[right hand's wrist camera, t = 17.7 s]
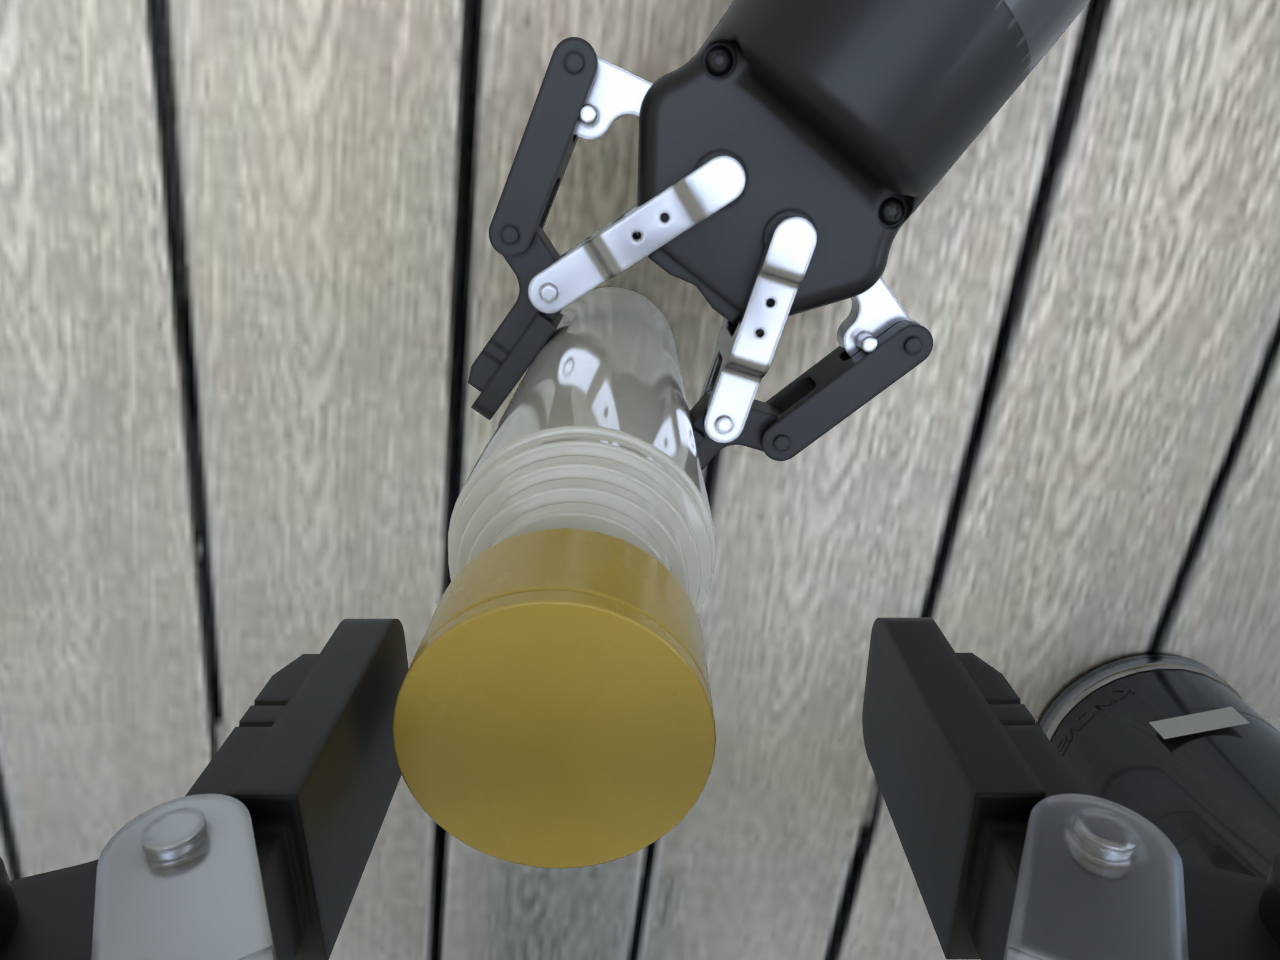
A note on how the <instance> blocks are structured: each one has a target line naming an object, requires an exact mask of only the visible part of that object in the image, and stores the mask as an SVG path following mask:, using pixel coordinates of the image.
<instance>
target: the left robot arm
mask: <svg viewBox="0 0 1280 960" xmlns="http://www.w3.org/2000/svg"><path fill="white" fill-rule="evenodd" d="M1089 1H1090V0H734V2H733V3H732V4H731V6H730V7H729V9H728V10H727V12H726V13H725V14H724V16H723V17H722V19H721V20H720V22H719V23H718V24H717V26H716V27H715V29H714V30H713V31H712V33H711V34H710V36H709V37H708V39H707V40H706V41H705V43H704V44H703V46H702V47H701V48H700V50H699V51H698V52H697V54H696V55H695V56H694V57H693V58H692V59H691V60H690V61H689V62H688V63H686V64H685V65H684V66H682V67H680V68H679V69H677V70H675V71H673V72H671V73H669V74H666V75H664V76H662V77H661V78H659V79H658V80H657V81H656V82H655V83H654V84H653V83H651V82H649V81H647V80H645V79H642V78H640V77H638V76H636V75H634V74H632V73H630V72H628V71H626V70H624V69H622V68H620V67H618V66H616V65H614V64H612V63H610V62H608V61H606V60H604V59H602V58H600V57H598V56H597V55H596V53H595V51H594V49H593V48H592V46H591V45H590V44H589V43H588V42H587V41H585V40H583V39H581V38H577V37H570V38H567V39H565V40H563V41H561V42H560V43H559V44H558V45H557V47H556V48H555V50H554V52H553V55H552V57H551V60H550V63H549V66H548V68H547V71H546V74H545V77H544V79H543V82H542V85H541V88H540V90H539V93H538V96H537V99H536V101H535V104H534V107H533V110H532V112H531V115H530V118H529V121H528V123H527V126H526V129H525V132H524V134H523V137H522V140H521V143H520V145H519V148H518V151H517V154H516V156H515V159H514V162H513V164H512V167H511V170H510V173H509V175H508V178H507V181H506V184H505V186H504V189H503V192H502V195H501V197H500V200H499V203H498V206H497V208H496V211H495V214H494V217H493V219H492V222H491V225H490V228H489V238H490V242H491V244H492V246H493V247H494V249H495V250H496V251H498V252H499V253H500V254H502V255H503V256H504V258H505V259H506V261H507V262H508V264H509V265H510V267H511V268H512V270H513V271H514V273H515V274H516V276H517V278H518V281H519V287H520V291H519V297H518V300H517V302H516V303H515V305H514V306H513V308H512V309H511V311H510V312H509V314H508V315H507V316H506V318H505V319H504V321H503V322H502V323H501V325H500V326H499V328H498V329H497V331H496V332H495V333H494V335H493V336H492V338H491V339H490V341H489V342H488V343H487V345H486V346H485V348H484V349H483V351H482V352H481V353H480V355H479V356H478V358H477V359H476V360H475V362H474V363H473V365H472V366H471V371H470V376H469V381H468V383H469V384H471V385H472V386H473V387H475V388H476V389H478V390H479V391H481V394H480V395H479V397H478V398H477V400H476V401H475V402H474V404H473V405H472V407H471V408H473V409H474V410H476V411H477V412H479V413H480V414H481V415H483V416H484V417H486V418H487V419H489V420H490V419H491V418H492V417H493V415H494V414H495V413H496V411H497V410H498V408H499V407H500V406H501V404H502V403H503V402H504V400H505V399H506V397H507V396H508V395H509V393H510V392H511V391H512V389H513V388H514V386H515V385H516V384H517V382H518V381H519V380H520V378H521V377H522V375H523V374H524V373H525V371H526V370H527V369H528V367H529V366H530V364H531V363H532V362H533V360H534V359H535V357H536V356H537V354H538V353H539V351H540V350H541V349H542V348H543V347H544V345H545V344H546V342H547V341H548V340H549V338H550V337H551V336H552V334H553V333H554V332H555V330H556V329H557V327H558V325H559V323H560V321H561V319H562V317H563V316H564V315H562V314H561V313H560V312H561V311H562V309H563V308H565V307H566V306H568V305H570V304H571V303H573V302H574V301H576V300H577V299H579V298H580V297H582V296H583V295H585V294H586V293H588V292H589V291H591V290H593V289H594V288H596V287H597V286H599V285H600V284H602V283H603V282H605V281H606V280H608V279H610V278H612V277H614V276H616V275H618V274H620V273H621V272H623V271H624V270H626V269H628V268H629V267H631V266H632V265H634V264H635V263H637V262H638V261H640V260H641V259H643V258H644V257H646V256H648V255H649V258H650V259H651V260H652V261H654V262H655V263H656V264H657V265H659V266H660V267H661V268H662V269H664V270H665V271H666V272H668V273H669V274H670V275H673V276H675V277H677V278H680V279H682V280H685V281H687V282H689V283H692V284H694V285H695V286H697V288H698V289H699V290H700V292H701V293H702V294H703V296H704V297H705V298H706V300H707V301H708V303H709V304H710V305H711V307H712V308H713V309H715V310H716V311H717V312H718V313H720V314H721V315H722V316H723V317H725V319H724V322H723V325H722V328H721V331H720V334H719V337H718V341H717V348H716V352H715V356H714V358H713V361H712V364H711V367H710V370H709V373H708V376H707V379H706V382H705V385H704V388H703V391H702V394H701V397H700V400H699V401H698V402H697V403H696V405H695V406H694V407H693V408H692V410H691V411H690V410H689V413H690V417H691V422H692V427H693V431H694V436H695V441H696V446H697V450H698V455H699V460H700V464H701V469H702V470H703V469H704V468H705V466H706V465H707V464H708V463H709V462H710V460H711V459H712V458H713V457H714V456H715V454H716V453H717V452H718V451H719V450H721V449H722V448H724V447H726V446H729V445H736V444H737V445H744V446H747V447H751V448H754V449H757V450H761V451H764V452H765V454H766V455H767V456H768V457H769V458H771V459H773V460H776V461H785V460H788V459H790V458H792V457H794V456H795V455H796V454H798V453H799V452H800V451H802V450H803V449H804V448H806V447H807V446H808V445H810V444H811V443H813V442H814V441H815V440H817V439H818V438H819V437H821V436H822V435H823V434H825V433H826V432H827V431H829V430H830V429H832V428H833V427H834V426H836V425H837V424H838V423H840V422H841V421H842V420H844V419H845V418H846V417H848V416H849V415H851V414H852V413H853V412H855V411H856V410H857V409H859V408H860V407H861V406H863V405H864V404H865V403H867V402H868V401H870V400H871V399H872V398H874V397H875V396H876V395H878V394H879V393H880V392H882V391H883V390H885V389H886V388H887V387H889V386H890V385H891V384H893V383H894V382H895V381H897V380H898V379H899V378H901V377H902V376H904V375H905V374H906V373H908V372H909V371H910V370H912V369H913V368H914V367H916V366H917V365H918V364H920V363H921V362H923V361H924V360H925V359H926V358H927V357H928V356H929V354H930V353H931V350H932V347H933V338H932V335H931V333H930V332H929V331H928V330H927V329H926V328H925V327H923V326H921V325H920V324H919V323H918V322H916V321H914V320H912V319H911V318H910V317H909V316H908V315H907V313H906V312H905V310H904V309H903V307H902V306H901V305H900V303H899V302H898V300H897V299H896V297H895V296H894V295H893V293H892V292H891V290H890V289H889V287H888V286H887V285H886V283H885V282H884V280H883V279H882V277H881V275H882V274H883V272H884V269H885V267H886V263H887V258H888V254H889V250H890V247H891V244H892V242H893V240H894V237H895V236H896V234H897V232H898V230H899V229H900V227H901V226H902V225H903V224H904V222H905V221H906V220H907V219H908V218H909V217H910V216H911V214H912V213H913V212H914V211H915V210H916V209H917V207H918V206H919V205H920V204H921V203H922V202H923V200H924V199H925V198H926V197H927V196H928V194H929V193H930V192H931V191H932V190H933V188H934V187H935V186H936V185H937V184H938V182H939V181H940V180H941V179H942V178H943V176H944V175H945V174H946V173H947V172H948V170H949V169H950V168H951V167H952V166H953V164H954V163H955V162H956V161H957V160H958V158H959V157H960V156H961V155H962V154H963V152H964V151H965V150H966V149H967V148H968V146H969V145H970V144H971V143H972V142H973V140H974V139H975V138H976V137H977V136H978V134H979V133H980V132H981V131H982V130H983V128H984V127H985V126H986V125H987V124H988V122H989V121H990V120H991V119H992V118H993V116H994V115H995V114H996V113H997V112H998V110H999V109H1000V108H1001V107H1002V106H1003V104H1004V103H1005V102H1006V101H1007V100H1008V98H1009V97H1010V96H1011V95H1012V94H1013V92H1014V91H1015V90H1016V89H1017V88H1018V86H1019V85H1020V84H1021V83H1022V82H1023V81H1024V79H1025V78H1026V77H1027V75H1028V74H1029V73H1030V72H1031V71H1032V70H1033V68H1034V67H1035V66H1036V65H1037V64H1038V63H1039V61H1040V60H1041V59H1042V58H1043V57H1044V55H1045V54H1046V53H1047V52H1048V51H1049V49H1050V48H1051V47H1052V46H1053V45H1054V44H1055V42H1056V41H1057V40H1058V39H1059V37H1060V36H1061V35H1062V34H1063V33H1064V31H1065V30H1066V29H1067V28H1068V27H1069V25H1070V24H1071V23H1072V22H1073V20H1074V19H1075V18H1076V17H1077V16H1078V14H1079V13H1080V12H1081V11H1082V10H1083V8H1084V7H1085V6H1086V5H1087V4H1088V2H1089ZM624 116H635V117H638V118H639V150H638V195H637V204H636V205H635V206H633V207H632V208H630V209H629V210H627V211H626V212H624V213H623V214H621V215H620V216H618V217H617V218H615V219H614V220H612V221H611V222H609V223H608V224H606V225H605V226H603V227H602V228H600V229H599V230H598V231H596V232H595V233H593V234H592V235H591V236H589V237H588V238H586V239H585V240H583V241H582V242H580V243H579V244H577V245H576V246H574V247H573V248H571V249H570V250H568V251H567V252H565V253H564V254H562V255H561V256H560V255H559V254H558V252H557V251H556V249H555V248H554V246H553V245H552V243H551V242H550V240H549V239H548V237H547V236H546V234H545V233H544V231H543V227H544V225H545V222H546V219H547V217H548V214H549V212H550V209H551V206H552V204H553V201H554V199H555V196H556V193H557V191H558V188H559V186H560V183H561V181H562V178H563V175H564V173H565V170H566V168H567V165H568V162H569V160H570V157H571V155H572V152H573V149H574V147H575V144H576V142H577V139H578V136H579V137H581V138H583V139H586V140H597V139H600V138H602V137H603V136H604V135H606V133H607V132H608V131H609V129H610V127H611V126H612V124H613V123H614V122H615V121H616V120H617V119H619V118H621V117H624ZM635 231H638V232H635ZM848 298H851V299H852V309H851V312H850V314H849V316H848V317H847V318H846V319H845V320H844V321H843V322H842V324H841V325H840V327H839V329H838V332H837V340H838V343H839V345H840V346H839V347H838V348H836V349H835V350H834V351H832V352H831V353H830V354H828V355H827V356H826V357H824V358H823V359H822V360H821V361H819V362H818V363H817V364H815V365H814V366H813V367H811V368H810V369H809V370H807V371H806V372H805V373H803V374H802V375H801V376H799V377H798V378H797V379H796V380H794V381H793V382H792V383H790V384H789V385H788V386H786V387H785V388H784V389H782V390H781V391H780V392H778V393H777V394H776V395H775V396H773V397H772V398H771V399H769V400H768V401H767V402H765V403H764V402H761V401H758V400H754V397H755V395H756V392H757V389H758V386H759V384H760V381H761V379H762V378H763V377H764V376H765V374H766V373H767V371H768V369H769V366H770V364H771V361H772V358H773V356H774V353H775V350H776V347H777V345H778V342H779V339H780V336H781V334H782V331H783V328H784V325H785V323H786V320H787V317H788V316H791V315H794V314H797V313H801V312H804V311H807V310H811V309H814V308H818V307H821V306H824V305H828V304H831V303H834V302H838V301H841V300H844V299H848ZM1039 726H1040V728H1041V729H1042V731H1043V732H1044V733H1045V735H1046V736H1047V737H1048V739H1049V740H1050V742H1051V743H1052V744H1053V746H1054V747H1055V749H1056V750H1057V751H1058V753H1059V754H1060V756H1061V757H1062V758H1063V760H1064V761H1065V763H1066V764H1067V765H1068V767H1069V768H1070V770H1071V771H1072V772H1073V774H1074V775H1075V777H1076V778H1077V779H1078V781H1079V782H1080V784H1081V785H1082V786H1083V788H1084V789H1085V791H1086V792H1087V793H1088V795H1090V796H1095V797H1099V798H1102V799H1106V800H1109V801H1112V802H1114V803H1117V804H1120V805H1122V806H1124V807H1126V808H1128V809H1131V810H1132V811H1134V812H1136V813H1138V814H1139V815H1141V816H1143V817H1144V818H1146V819H1147V820H1148V821H1150V822H1151V823H1153V824H1154V825H1155V826H1156V827H1157V828H1159V829H1160V830H1161V831H1162V832H1163V833H1164V834H1165V835H1166V836H1167V837H1168V838H1169V839H1170V840H1171V842H1172V843H1173V845H1174V846H1175V848H1176V849H1177V851H1178V853H1179V855H1180V857H1181V859H1183V860H1186V861H1190V862H1193V863H1198V864H1202V865H1206V866H1211V867H1215V868H1219V869H1224V870H1228V871H1232V872H1236V873H1241V874H1245V875H1249V876H1254V877H1258V878H1262V879H1267V877H1268V874H1269V871H1270V868H1271V865H1272V862H1273V859H1274V857H1275V856H1276V854H1277V853H1278V852H1279V851H1280V733H1279V732H1278V731H1277V730H1276V729H1275V728H1274V727H1273V726H1272V725H1271V724H1269V723H1268V722H1267V721H1266V720H1265V719H1264V718H1262V717H1261V716H1260V715H1259V714H1258V713H1257V712H1256V711H1254V710H1253V709H1252V708H1251V707H1250V706H1249V705H1248V704H1246V703H1245V702H1244V701H1243V700H1242V698H1241V697H1240V696H1239V694H1238V693H1237V692H1236V691H1235V690H1234V689H1233V688H1232V687H1231V686H1230V685H1228V684H1227V683H1226V682H1225V681H1224V680H1223V679H1222V678H1220V677H1219V676H1218V675H1217V674H1216V673H1215V672H1213V671H1212V670H1210V669H1209V668H1208V667H1206V666H1204V665H1202V664H1200V663H1198V662H1195V661H1193V660H1190V659H1187V658H1183V657H1179V656H1174V655H1164V654H1149V655H1139V656H1133V657H1128V658H1124V659H1120V660H1117V661H1114V662H1111V663H1108V664H1106V665H1103V666H1101V667H1099V668H1097V669H1095V670H1093V671H1091V672H1089V673H1087V674H1086V675H1084V676H1082V677H1081V678H1079V679H1078V680H1077V681H1075V682H1074V683H1072V684H1071V685H1070V686H1069V687H1068V688H1066V689H1065V690H1064V691H1063V692H1062V693H1061V694H1060V695H1059V696H1058V697H1057V698H1056V699H1055V701H1054V702H1053V703H1052V704H1051V706H1050V707H1049V708H1048V710H1047V711H1046V713H1045V714H1044V716H1043V718H1042V720H1041V722H1040V724H1039Z"/></svg>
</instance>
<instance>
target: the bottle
mask: <svg viewBox="0 0 1280 960" xmlns="http://www.w3.org/2000/svg"><path fill="white" fill-rule="evenodd" d="M560 313H561V314H562V315H564V316H563V317H562V319H561V321H560V323H559V325H558V327H557V329H556V330H555V332H554V333H553V334H552V336H551V337H550V338H549V340H548V341H547V342H546V344H545V345H544V347H543V348H542V349H541V350H540V351H539V353H538V354H537V356H536V357H535V359H534V360H533V362H532V363H531V365H530V367H529V369H528V371H527V373H526V374H525V376H524V378H523V380H522V382H521V383H520V385H519V387H518V389H517V391H516V393H515V394H514V396H513V398H512V400H511V402H510V403H509V405H508V407H507V409H506V411H505V412H504V414H503V416H502V418H501V420H500V422H499V423H498V425H497V427H496V429H495V431H494V432H493V434H492V436H491V438H490V440H489V442H488V443H487V445H486V447H485V449H484V451H483V452H482V454H481V456H480V458H479V460H478V462H477V463H476V465H475V467H474V469H473V471H472V472H471V474H470V476H469V478H468V480H467V482H466V483H465V485H464V487H463V489H462V491H461V493H460V495H459V497H458V499H457V501H456V504H455V507H454V510H453V513H452V516H451V520H450V526H449V533H448V554H449V557H448V563H449V571H450V578H451V581H452V580H453V579H454V578H455V577H456V575H457V574H458V573H459V572H460V571H461V569H462V568H464V567H465V566H466V565H467V564H468V563H469V562H470V561H471V560H473V559H474V558H475V557H476V556H478V555H479V554H481V553H482V552H484V551H485V550H487V549H488V548H490V547H492V546H494V545H496V544H498V543H500V542H502V541H504V540H506V539H508V538H511V537H514V536H518V535H521V534H525V533H529V532H534V531H539V530H547V529H559V528H567V529H568V528H573V529H581V530H588V531H594V532H599V533H602V534H606V535H610V536H613V537H616V538H618V539H623V540H624V541H627V542H629V543H630V544H633V545H634V546H636V547H638V548H639V549H641V550H643V551H645V552H646V553H648V554H650V555H651V556H652V557H653V558H655V559H656V560H657V561H659V562H660V563H661V564H663V565H664V566H665V567H666V568H667V569H668V570H669V571H670V572H671V573H672V574H673V575H674V576H675V577H676V579H677V580H678V581H679V583H680V584H681V585H682V587H683V588H684V589H685V591H686V592H687V594H688V596H689V598H690V599H691V601H692V603H693V605H694V607H695V610H696V613H697V615H698V614H699V612H700V610H701V608H702V606H703V603H704V601H705V599H706V595H707V592H708V589H709V587H710V583H711V580H712V576H713V573H714V566H715V559H716V540H715V533H714V526H713V521H712V516H711V512H710V507H709V502H708V497H707V493H706V488H705V483H704V479H703V474H702V469H701V464H700V460H699V455H698V450H697V446H696V441H695V436H694V431H693V427H692V422H691V417H690V413H689V408H688V403H687V398H686V394H685V389H684V384H683V379H682V375H681V370H680V365H679V361H678V356H677V351H676V346H675V342H674V337H673V334H672V330H671V327H670V325H669V323H668V321H667V319H666V318H665V316H664V314H663V313H662V312H661V310H660V309H659V308H658V307H657V306H656V305H655V304H654V303H653V302H652V301H650V300H649V299H648V298H646V297H645V296H643V295H641V294H639V293H637V292H635V291H632V290H629V289H625V288H619V287H602V288H597V289H593V290H591V291H589V292H588V293H586V294H585V295H583V296H582V297H580V298H579V299H577V300H576V301H574V302H573V303H571V304H570V305H568V306H566V307H565V308H563V310H562V311H561V312H560Z"/></svg>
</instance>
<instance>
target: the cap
mask: <svg viewBox="0 0 1280 960" xmlns="http://www.w3.org/2000/svg"><path fill="white" fill-rule="evenodd" d="M392 730H393V743H394V749H395V754H396V758H397V762H398V766H399V768H400V771H401V773H402V776H403V778H404V781H405V782H406V784H407V786H408V788H409V789H410V791H411V793H412V795H413V796H414V798H415V799H416V800H417V802H418V803H419V804H420V805H421V807H422V808H423V809H424V811H425V812H426V813H427V814H428V815H429V816H430V817H431V818H432V819H433V820H434V821H435V822H436V823H437V824H438V825H440V826H441V827H442V828H443V829H445V830H446V831H447V832H449V833H450V834H451V835H452V836H454V837H456V838H457V839H459V840H460V841H462V842H464V843H465V844H467V845H469V846H471V847H473V848H475V849H477V850H479V851H481V852H483V853H485V854H488V855H491V856H494V857H496V858H499V859H502V860H505V861H509V862H514V863H518V864H522V865H528V866H535V867H543V868H573V867H585V866H590V865H596V864H602V863H605V862H609V861H612V860H616V859H619V858H622V857H625V856H627V855H630V854H632V853H634V852H637V851H639V850H641V849H643V848H644V847H646V846H648V845H650V844H652V843H654V842H655V841H657V840H658V839H659V838H661V837H662V836H663V835H665V834H666V833H668V832H669V831H670V830H671V829H672V828H673V827H674V826H676V825H677V824H678V823H679V822H680V821H681V820H682V819H683V818H684V817H685V815H686V814H687V813H688V812H689V811H690V809H691V808H692V807H693V806H694V804H695V802H696V801H697V799H698V798H699V796H700V794H701V793H702V791H703V789H704V787H705V784H706V782H707V780H708V777H709V775H710V772H711V768H712V764H713V760H714V755H715V744H716V733H715V720H714V713H713V708H712V699H711V691H710V684H709V677H708V670H707V663H706V655H705V648H704V641H703V634H702V630H701V625H700V621H699V618H698V615H697V613H696V610H695V607H694V605H693V603H692V601H691V599H690V598H689V596H688V594H687V592H686V591H685V589H684V588H683V587H682V585H681V584H680V583H679V581H678V580H677V579H676V577H675V576H674V575H673V574H672V573H671V572H670V571H669V570H668V569H667V568H666V567H665V566H664V565H663V564H661V563H660V562H659V561H657V560H656V559H655V558H653V557H652V556H651V555H650V554H648V553H646V552H645V551H643V550H641V549H639V548H638V547H636V546H634V545H633V544H630V543H629V542H627V541H624V540H623V539H618V538H616V537H613V536H610V535H606V534H602V533H599V532H594V531H588V530H581V529H573V528H568V529H567V528H559V529H547V530H539V531H534V532H529V533H525V534H521V535H518V536H514V537H511V538H508V539H506V540H504V541H502V542H500V543H498V544H496V545H494V546H492V547H490V548H488V549H487V550H485V551H484V552H482V553H481V554H479V555H478V556H476V557H475V558H474V559H473V560H471V561H470V562H469V563H468V564H467V565H466V566H465V567H464V568H462V569H461V571H460V572H459V573H458V574H457V575H456V577H455V578H454V579H453V580H452V581H451V583H450V584H449V586H448V588H447V589H446V591H445V593H444V594H443V596H442V598H441V600H440V602H439V605H438V607H437V609H436V611H435V613H434V615H433V618H432V620H431V622H430V624H429V626H428V629H427V631H426V633H425V635H424V637H423V639H422V642H421V644H420V646H419V648H418V650H417V653H416V655H415V657H414V659H413V661H412V664H411V666H410V668H409V670H408V672H407V674H406V676H405V679H404V681H403V683H402V686H401V688H400V690H399V693H398V696H397V700H396V704H395V708H394V715H393V727H392Z"/></svg>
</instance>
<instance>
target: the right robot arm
mask: <svg viewBox="0 0 1280 960" xmlns="http://www.w3.org/2000/svg"><path fill="white" fill-rule="evenodd" d="M407 672H408V662H407V653H406V644H405V636H404V630H403V626H402V624H401V622H400V620H399V619H344V620H343V621H342V622H341V623H340V624H339V626H338V627H337V629H336V630H335V632H334V633H333V635H332V636H331V638H330V639H329V641H328V642H327V644H326V645H325V647H324V648H323V650H322V651H321V653H320V654H303V655H301V656H300V657H299V658H297V659H296V660H294V661H293V662H291V663H290V664H289V665H287V666H286V667H284V668H283V669H281V670H280V671H279V672H277V673H276V674H274V675H273V676H272V677H271V679H270V680H269V681H268V683H267V684H266V686H265V687H264V688H263V690H262V691H261V692H260V694H259V695H258V697H257V698H256V699H255V704H254V706H250V708H249V709H248V710H247V712H246V713H245V715H244V716H243V717H242V719H241V720H240V721H239V722H240V724H239V727H235V728H234V730H233V731H232V733H231V734H230V735H229V737H228V738H227V739H226V741H225V742H224V744H223V745H222V746H221V748H220V749H219V750H218V752H217V753H216V755H215V756H214V757H213V759H212V760H211V762H210V763H209V764H208V766H207V767H206V768H205V770H204V771H203V773H202V774H201V775H200V777H199V778H198V779H197V781H196V782H195V784H194V785H193V786H192V788H191V789H190V790H189V792H188V793H187V795H186V796H185V797H181V798H178V799H174V800H171V801H168V802H166V803H163V804H160V805H158V806H156V807H154V808H152V809H149V810H148V811H146V812H144V813H142V814H141V815H139V816H137V817H136V818H134V819H133V820H132V821H130V822H129V823H127V824H126V825H125V826H124V827H123V828H121V829H120V830H119V831H118V832H117V833H116V834H115V835H114V836H113V837H112V838H111V839H110V840H109V842H108V843H107V845H106V846H105V848H104V849H103V851H102V853H101V855H100V857H99V859H98V860H95V861H91V862H88V863H84V864H81V865H77V866H72V867H68V868H64V869H59V870H55V871H51V872H47V873H42V874H38V875H34V876H29V877H25V878H21V879H16V880H12V881H10V880H9V877H8V874H7V871H6V868H5V866H4V863H3V860H2V859H1V857H0V960H329V957H330V955H331V952H332V950H333V947H334V945H335V942H336V939H337V937H338V934H339V932H340V929H341V927H342V924H343V922H344V919H345V917H346V914H347V912H348V909H349V906H350V904H351V901H352V899H353V896H354V894H355V891H356V889H357V886H358V884H359V881H360V879H361V876H362V873H363V871H364V868H365V866H366V863H367V861H368V858H369V856H370V853H371V851H372V848H373V846H374V843H375V840H376V838H377V835H378V833H379V830H380V828H381V825H382V823H383V820H384V818H385V815H386V813H387V810H388V807H389V805H390V802H391V800H392V797H393V795H394V792H395V790H396V787H397V785H398V782H399V779H400V777H401V774H402V773H401V771H400V768H399V766H398V762H397V758H396V754H395V749H394V743H393V730H392V727H393V715H394V708H395V704H396V700H397V696H398V693H399V690H400V688H401V686H402V683H403V681H404V679H405V676H406V674H407ZM862 723H863V736H864V743H865V748H866V752H867V755H868V758H869V761H870V764H871V766H872V769H873V771H874V774H875V776H876V779H877V782H878V784H879V787H880V789H881V792H882V794H883V797H884V800H885V802H886V805H887V807H888V810H889V813H890V815H891V818H892V820H893V823H894V825H895V828H896V831H897V833H898V836H899V838H900V841H901V844H902V846H903V849H904V851H905V854H906V856H907V859H908V862H909V864H910V867H911V869H912V872H913V875H914V877H915V880H916V882H917V885H918V887H919V890H920V893H921V895H922V898H923V900H924V903H925V905H926V908H927V911H928V913H929V916H930V918H931V921H932V924H933V926H934V929H935V931H936V934H937V936H938V939H939V942H940V944H941V947H942V949H943V952H944V955H945V957H946V959H981V960H1280V851H1279V852H1278V853H1277V854H1276V856H1275V857H1274V859H1273V862H1272V865H1271V868H1270V871H1269V874H1268V877H1267V879H1262V878H1258V877H1254V876H1249V875H1245V874H1241V873H1236V872H1232V871H1228V870H1224V869H1219V868H1215V867H1211V866H1206V865H1202V864H1198V863H1193V862H1190V861H1186V860H1183V859H1181V857H1180V855H1179V853H1178V851H1177V849H1176V848H1175V846H1174V845H1173V843H1172V842H1171V840H1170V839H1169V838H1168V837H1167V836H1166V835H1165V834H1164V833H1163V832H1162V831H1161V830H1160V829H1159V828H1157V827H1156V826H1155V825H1154V824H1153V823H1151V822H1150V821H1148V820H1147V819H1146V818H1144V817H1143V816H1141V815H1139V814H1138V813H1136V812H1134V811H1132V810H1131V809H1128V808H1126V807H1124V806H1122V805H1120V804H1117V803H1114V802H1112V801H1109V800H1106V799H1102V798H1099V797H1095V796H1090V795H1088V793H1087V792H1086V791H1085V789H1084V788H1083V786H1082V785H1081V784H1080V782H1079V781H1078V779H1077V778H1076V777H1075V775H1074V774H1073V772H1072V771H1071V770H1070V768H1069V767H1068V765H1067V764H1066V763H1065V761H1064V760H1063V758H1062V757H1061V756H1060V754H1059V753H1058V751H1057V750H1056V749H1055V747H1054V746H1053V744H1052V743H1051V742H1050V740H1049V739H1048V737H1047V736H1046V735H1045V733H1044V732H1043V731H1042V729H1041V728H1040V726H1039V725H1035V719H1034V718H1033V717H1032V715H1031V714H1030V712H1029V711H1028V710H1027V708H1026V707H1025V705H1024V704H1020V698H1019V697H1018V696H1017V694H1016V693H1015V691H1014V690H1013V689H1012V687H1011V686H1010V684H1009V683H1008V682H1007V680H1006V679H1005V677H1004V676H1003V675H1002V674H1001V673H1000V672H998V671H997V670H995V669H994V668H993V667H991V666H990V665H988V664H987V663H985V662H984V661H983V660H981V659H980V658H978V657H977V656H976V655H974V654H973V653H955V652H954V650H953V649H952V647H951V646H950V644H949V642H948V641H947V639H946V638H945V636H944V635H943V633H942V632H941V630H940V629H939V627H938V626H937V624H936V623H935V621H934V620H933V619H931V618H877V619H876V620H875V622H874V624H873V628H872V633H871V641H870V650H869V658H868V667H867V676H866V685H865V694H864V703H863V715H862Z"/></svg>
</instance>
